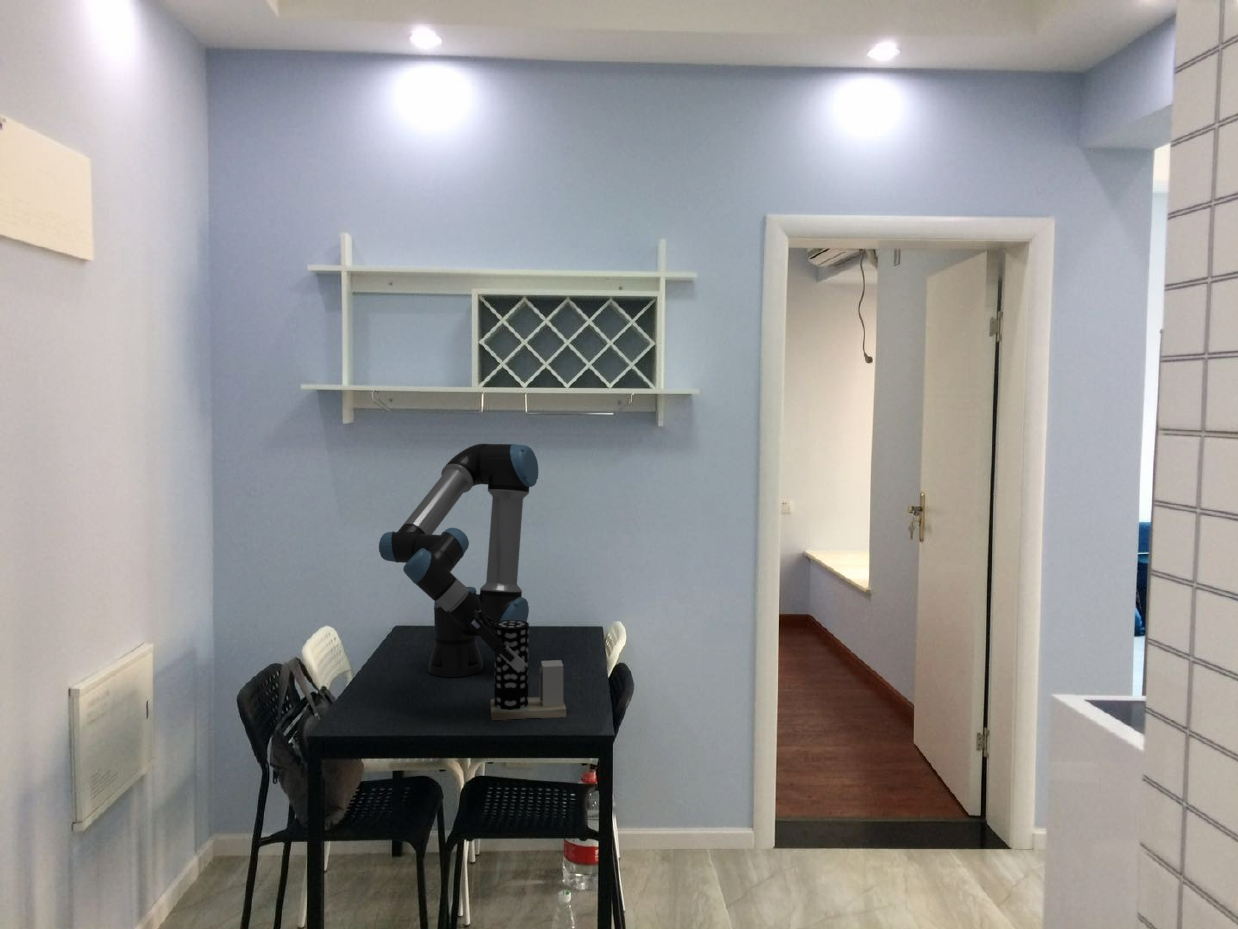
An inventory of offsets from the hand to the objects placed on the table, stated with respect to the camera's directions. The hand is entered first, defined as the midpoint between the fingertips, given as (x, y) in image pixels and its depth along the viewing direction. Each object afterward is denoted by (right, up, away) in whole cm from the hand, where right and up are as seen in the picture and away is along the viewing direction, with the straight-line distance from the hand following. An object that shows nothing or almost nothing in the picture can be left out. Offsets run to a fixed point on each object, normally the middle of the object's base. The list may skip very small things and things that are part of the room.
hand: (520, 660), depth 227 cm
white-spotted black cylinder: (-2, -11, 0) cm, 11 cm away
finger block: (+8, -11, +2) cm, 14 cm away
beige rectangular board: (+2, -13, +1) cm, 13 cm away
